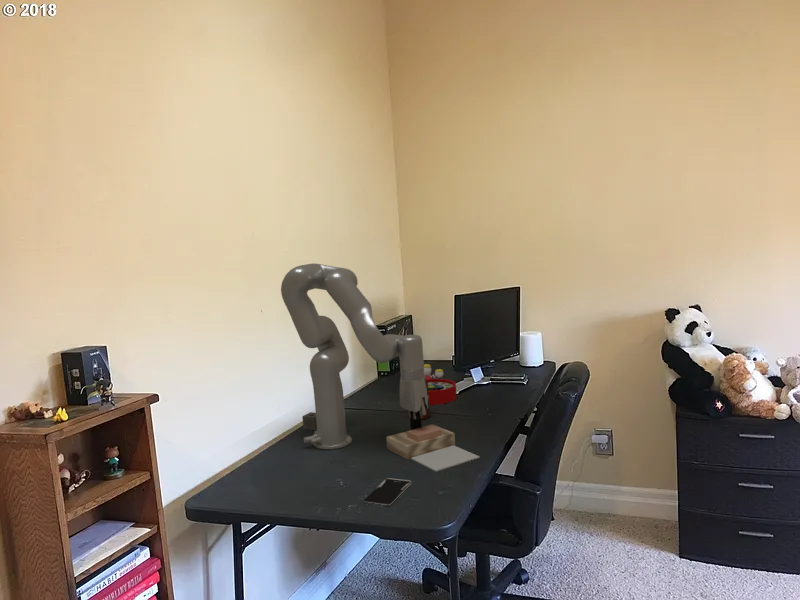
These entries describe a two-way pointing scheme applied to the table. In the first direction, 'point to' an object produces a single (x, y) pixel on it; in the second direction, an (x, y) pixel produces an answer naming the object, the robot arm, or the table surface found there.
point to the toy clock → (441, 391)
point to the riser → (419, 444)
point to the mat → (445, 458)
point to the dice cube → (310, 421)
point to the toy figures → (427, 372)
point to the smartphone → (388, 491)
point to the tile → (424, 433)
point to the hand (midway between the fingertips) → (416, 429)
